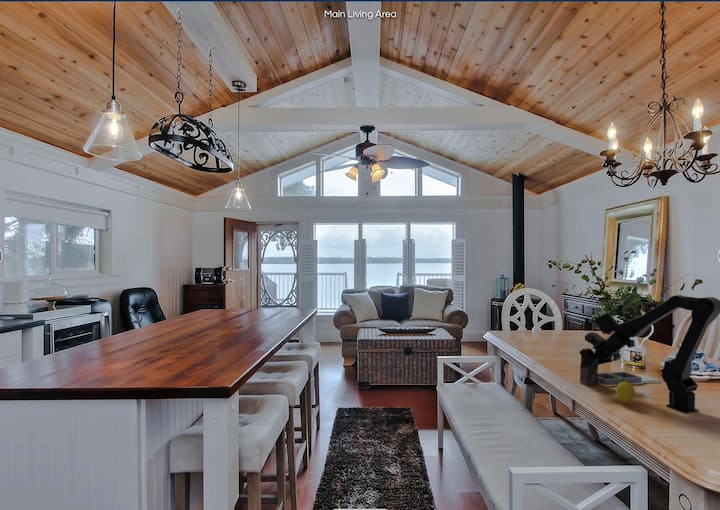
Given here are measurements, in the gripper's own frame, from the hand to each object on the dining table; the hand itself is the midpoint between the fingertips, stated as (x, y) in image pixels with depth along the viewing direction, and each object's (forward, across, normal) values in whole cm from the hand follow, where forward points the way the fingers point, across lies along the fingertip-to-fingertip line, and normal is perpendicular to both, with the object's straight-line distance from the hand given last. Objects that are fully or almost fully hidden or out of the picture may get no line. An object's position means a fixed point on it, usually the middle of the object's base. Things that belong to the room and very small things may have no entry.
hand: (586, 366), depth 173 cm
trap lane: (+1, -17, +9) cm, 19 cm away
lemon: (-11, +11, +20) cm, 26 cm away
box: (+4, 0, +6) cm, 7 cm away
